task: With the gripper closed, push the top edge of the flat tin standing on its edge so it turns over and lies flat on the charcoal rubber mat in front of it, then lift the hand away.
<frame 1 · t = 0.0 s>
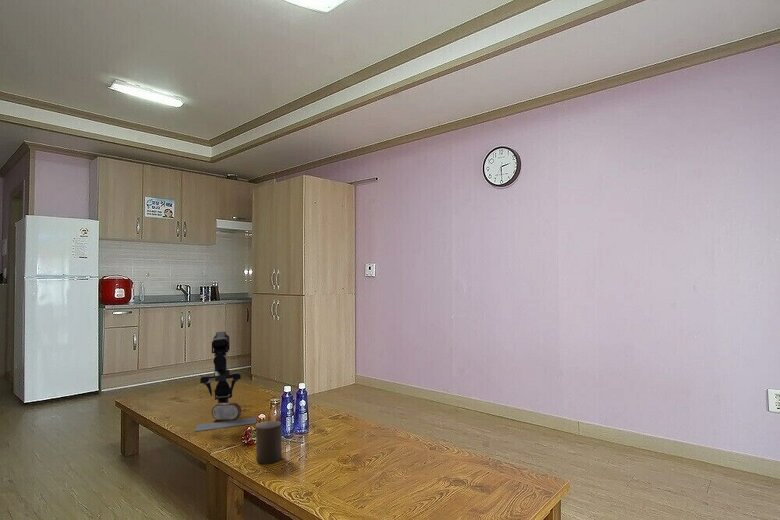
hand: (221, 394, 224), 15 cm above the table, tool pointing down, fingers open, 9 cm apart
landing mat: (226, 424, 223), on the table
tin: (226, 420, 230), on the table, touching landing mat
pillar candle: (269, 459, 178), on the table
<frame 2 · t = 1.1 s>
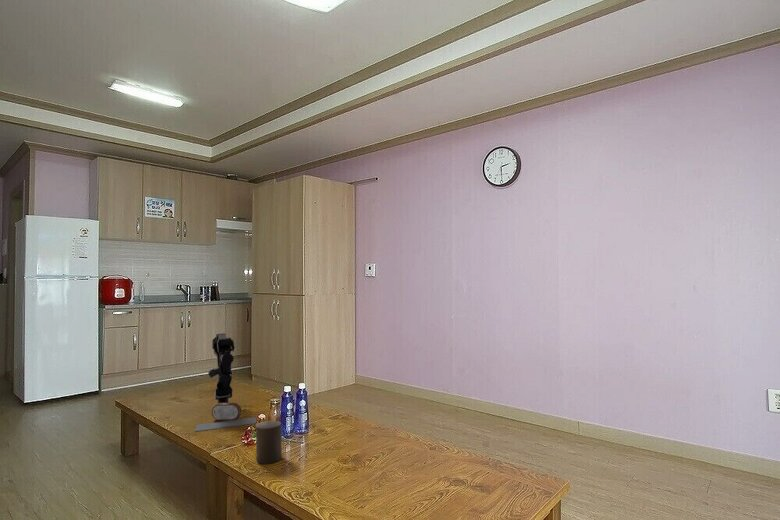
hand: (226, 391, 237), 13 cm above the table, tool pointing down, fingers open, 4 cm apart
nothing on the table moved.
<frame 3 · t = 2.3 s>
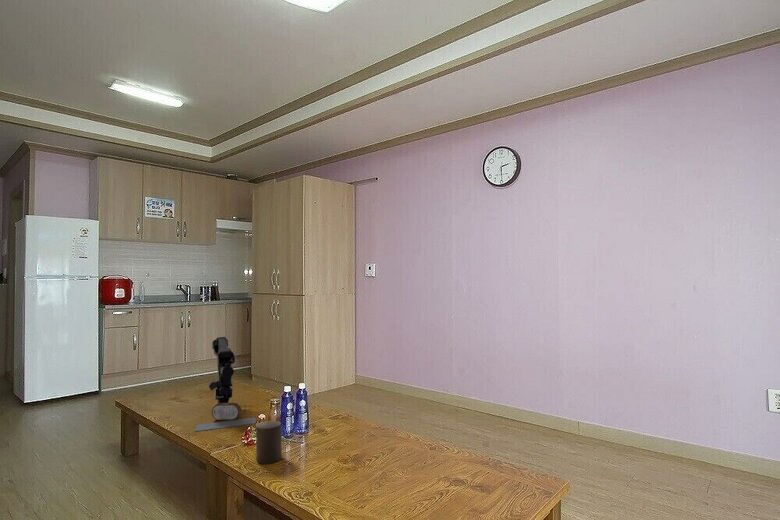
hand: (226, 403, 237), 7 cm above the table, tool pointing down, fingers closed
nothing on the table moved.
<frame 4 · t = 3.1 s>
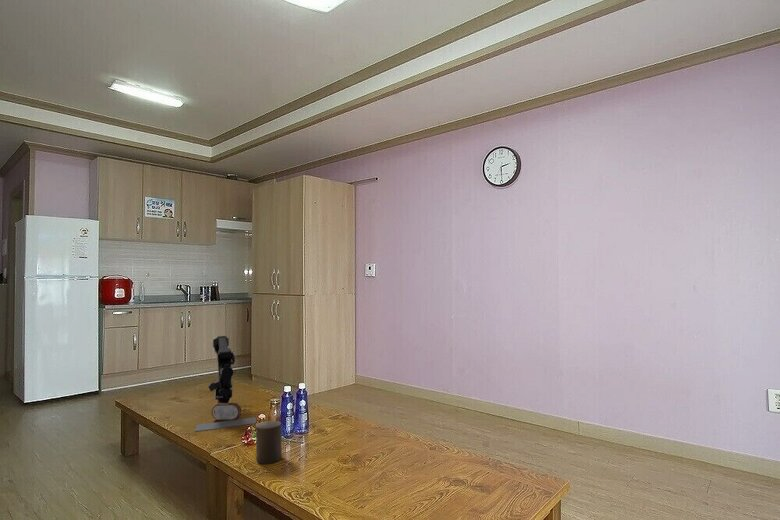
hand: (226, 405, 234), 7 cm above the table, tool pointing down, fingers closed
nothing on the table moved.
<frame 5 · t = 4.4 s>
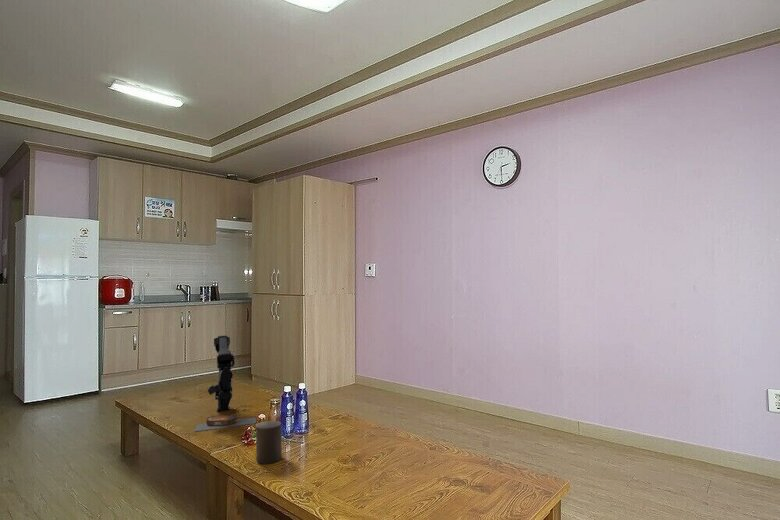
hand: (226, 408, 227), 7 cm above the table, tool pointing down, fingers closed
tin: (225, 418, 229), point 1 cm above the table, touching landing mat
everything else where it was.
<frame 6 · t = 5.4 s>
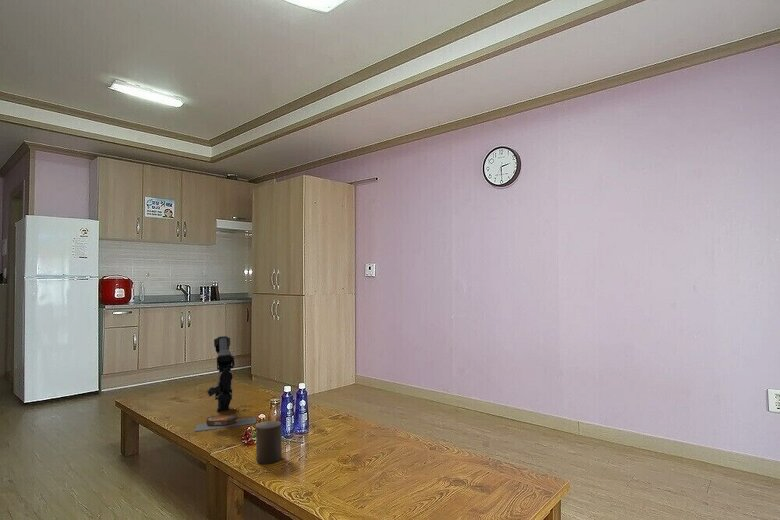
hand: (225, 410, 225), 7 cm above the table, tool pointing down, fingers closed
nothing on the table moved.
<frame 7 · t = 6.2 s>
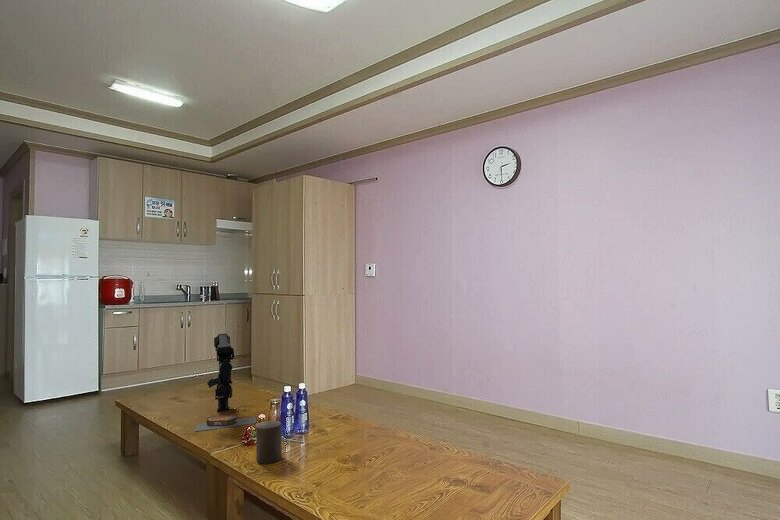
hand: (225, 402, 225), 11 cm above the table, tool pointing down, fingers closed
nothing on the table moved.
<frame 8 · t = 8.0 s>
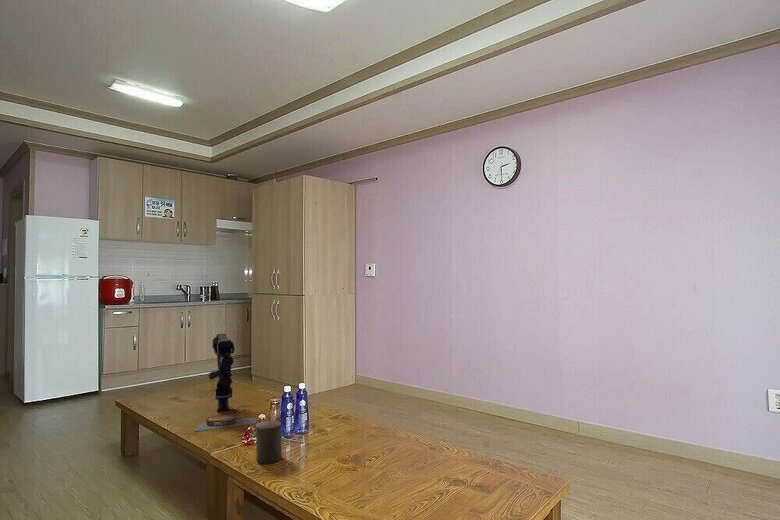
hand: (226, 393, 236), 12 cm above the table, tool pointing down, fingers closed
nothing on the table moved.
at the end: tin tilted 86°; tin inside the target area (3.3 cm from its centre), point 1.3 cm above the table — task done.
